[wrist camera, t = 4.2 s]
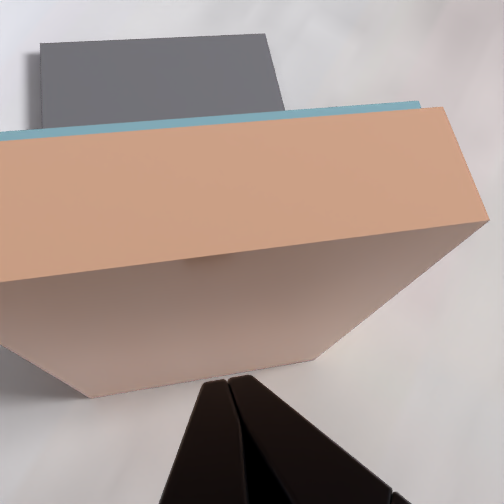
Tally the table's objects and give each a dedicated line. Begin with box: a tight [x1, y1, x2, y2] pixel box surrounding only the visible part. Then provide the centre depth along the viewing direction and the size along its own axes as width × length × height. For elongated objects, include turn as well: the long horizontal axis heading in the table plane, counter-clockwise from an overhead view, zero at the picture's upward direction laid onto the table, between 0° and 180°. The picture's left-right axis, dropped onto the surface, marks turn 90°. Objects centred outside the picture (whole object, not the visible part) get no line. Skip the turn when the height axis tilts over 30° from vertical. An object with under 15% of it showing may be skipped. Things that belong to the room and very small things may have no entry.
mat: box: [40, 34, 285, 129], centre depth 18 cm, size 10×9×1 cm
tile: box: [0, 101, 490, 399], centre depth 11 cm, size 2×7×10 cm, turn 101°
